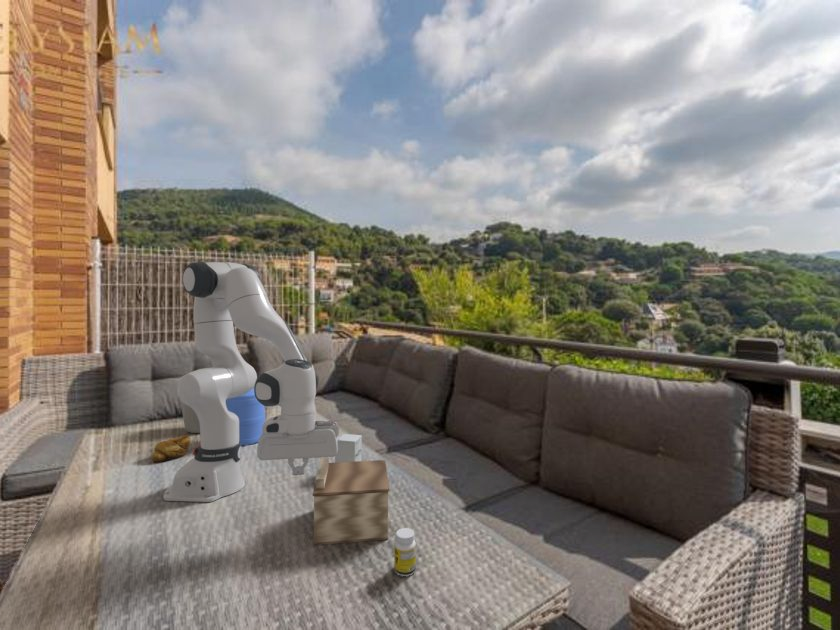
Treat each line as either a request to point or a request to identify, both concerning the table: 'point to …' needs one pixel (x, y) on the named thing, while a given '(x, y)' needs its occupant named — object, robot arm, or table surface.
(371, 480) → the lid
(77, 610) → the table surface
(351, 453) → the supplement box
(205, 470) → the robot arm
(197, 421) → the canister
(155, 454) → the bread roll
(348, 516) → the box
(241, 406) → the water jug
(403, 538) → the supplement bottle
